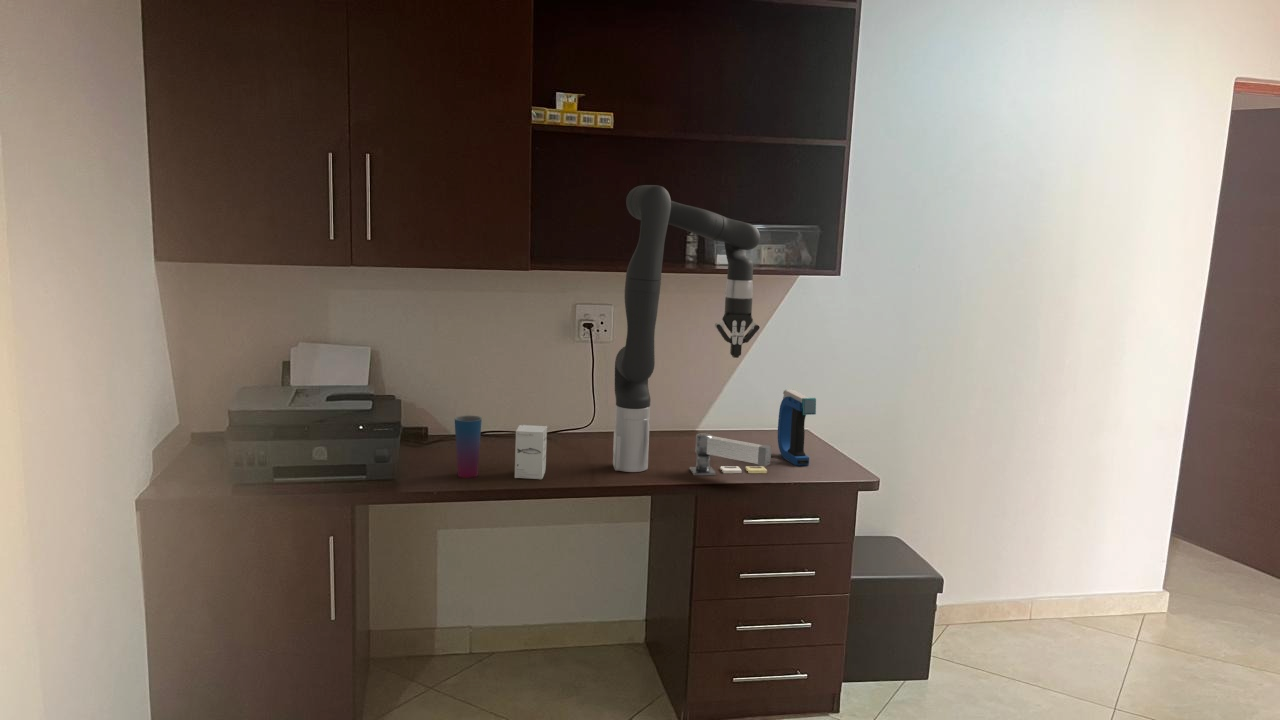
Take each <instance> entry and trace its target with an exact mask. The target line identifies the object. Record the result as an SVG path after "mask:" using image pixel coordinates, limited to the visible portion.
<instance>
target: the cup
mask: <svg viewBox="0 0 1280 720" xmlns="http://www.w3.org/2000/svg"><path fill="white" fill-rule="evenodd" d="M482 419H483V418H482V417H481V416H479V415H472V414H471V415H458V416H455V417H454V432H455V434H454V435H455V446H456V447H455V448H456V449H455V451H456V466H457V476H458V477H459V478H463V479H473V478H476V477H477V476H479V461H480V446H481V436H482V435H481V433H482V422H483V421H482Z"/></svg>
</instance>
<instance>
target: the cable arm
mask: <svg viewBox="0 0 1280 720" xmlns="http://www.w3.org/2000/svg"><path fill="white" fill-rule="evenodd" d="M694 450H695V454H696V455H697V454H701V455H710V456H714V457H719V458H725V459H730V460H735V461H741V462H745V463H752V464H756V465H757V466H764V467H767V466H768V465H770V464H771V457H772V445H769V444H758V443H753V442H748V441H741V440H736V439H730V438H725V437H719V436H714V435H713V434H710V433H705V432H701V433H696V435H695V449H694Z"/></svg>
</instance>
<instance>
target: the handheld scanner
mask: <svg viewBox="0 0 1280 720" xmlns="http://www.w3.org/2000/svg"><path fill="white" fill-rule="evenodd" d="M808 415H811V416H813V415H817V398H816V397H808V396H806V395H804V394H802V393H800V392H799V391H796V390H794V389H785V390H783V397H782V399H781V402H780V405H779V411H778V422H777V445H778V450H779V452H780V455H781V457H782V458H783V459H784V460H786V461H788V462H789V463H791V464H792V465H794V466H795V467H797V466H800V467H801V466H809V465H810V457H809V456H808V455H806V452H805V448H804V447H805V432H806V431H805V421H806V417H807V416H808Z"/></svg>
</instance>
